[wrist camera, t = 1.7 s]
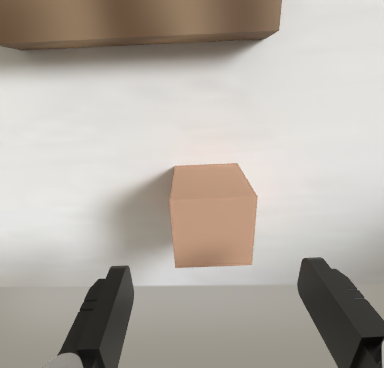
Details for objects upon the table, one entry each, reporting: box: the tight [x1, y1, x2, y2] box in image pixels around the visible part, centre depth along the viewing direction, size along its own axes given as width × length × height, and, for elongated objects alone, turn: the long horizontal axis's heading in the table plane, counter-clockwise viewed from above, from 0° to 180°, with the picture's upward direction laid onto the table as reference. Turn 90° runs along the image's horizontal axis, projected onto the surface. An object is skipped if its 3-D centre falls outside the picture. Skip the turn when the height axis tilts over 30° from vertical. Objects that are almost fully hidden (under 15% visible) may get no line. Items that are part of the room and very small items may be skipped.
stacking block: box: [169, 163, 257, 268], centre depth 17 cm, size 5×5×6 cm
